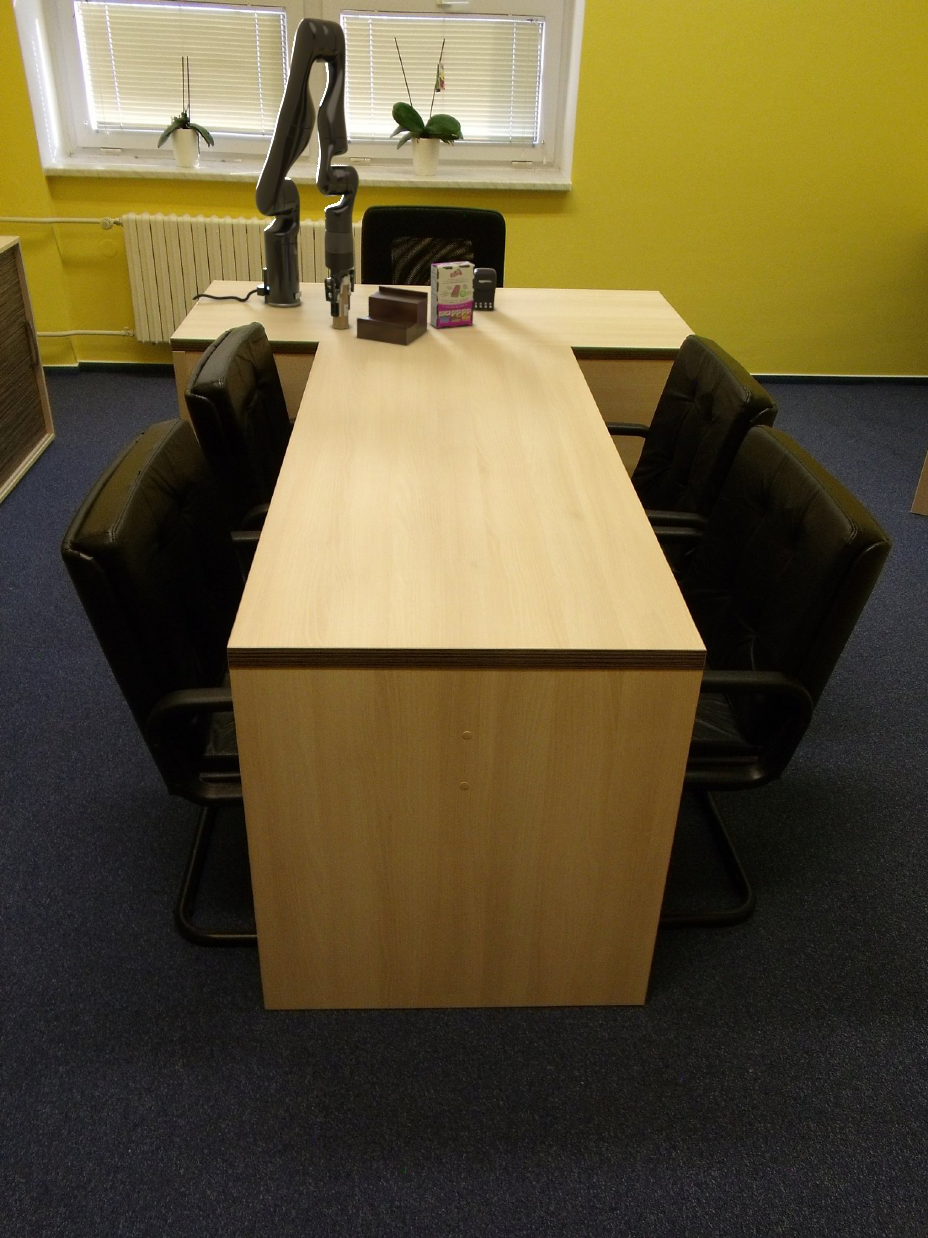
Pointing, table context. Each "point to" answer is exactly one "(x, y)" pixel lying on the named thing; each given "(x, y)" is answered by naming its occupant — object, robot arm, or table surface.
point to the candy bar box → (452, 294)
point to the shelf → (394, 316)
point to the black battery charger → (484, 289)
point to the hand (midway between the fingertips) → (340, 312)
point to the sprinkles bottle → (342, 308)
